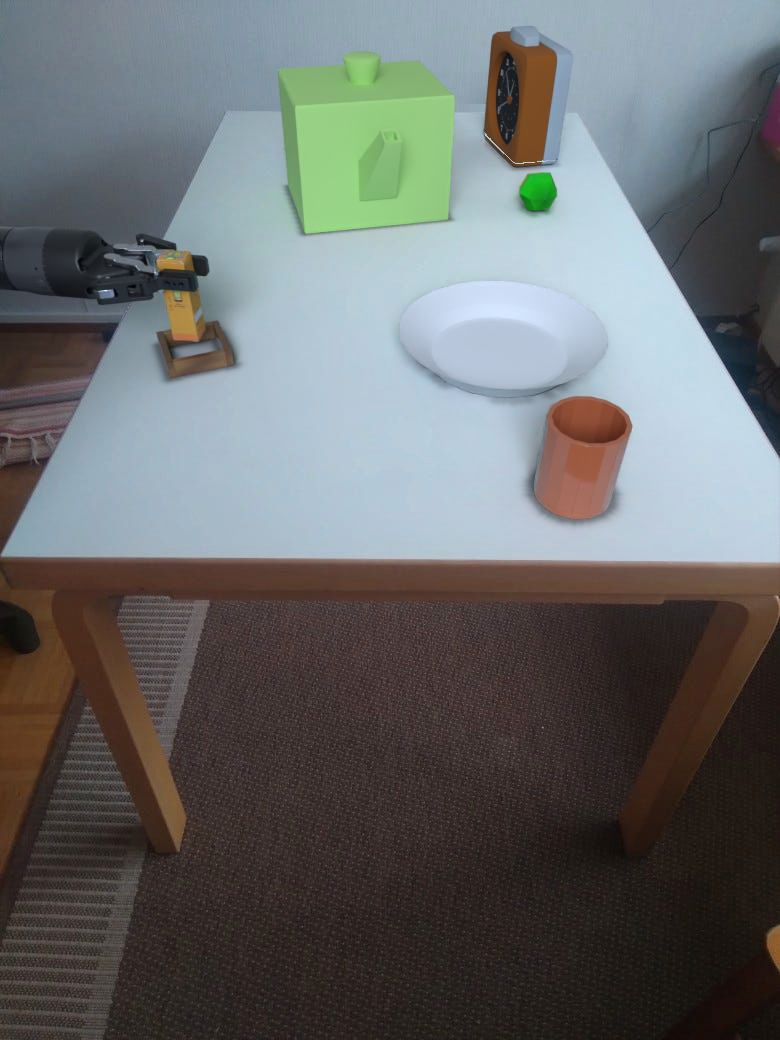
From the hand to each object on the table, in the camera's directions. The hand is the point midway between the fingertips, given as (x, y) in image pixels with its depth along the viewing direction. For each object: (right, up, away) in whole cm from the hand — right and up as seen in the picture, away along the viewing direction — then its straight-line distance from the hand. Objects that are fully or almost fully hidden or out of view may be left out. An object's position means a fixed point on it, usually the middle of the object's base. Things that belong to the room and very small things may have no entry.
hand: (201, 273), depth 83 cm
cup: (+40, -25, -10) cm, 48 cm away
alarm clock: (+46, +44, +60) cm, 88 cm away
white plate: (+35, -8, +8) cm, 37 cm away
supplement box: (-3, -6, +6) cm, 9 cm away
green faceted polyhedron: (+46, +25, +41) cm, 66 cm away
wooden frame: (-3, -7, +8) cm, 11 cm away
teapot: (+17, +26, +41) cm, 52 cm away
